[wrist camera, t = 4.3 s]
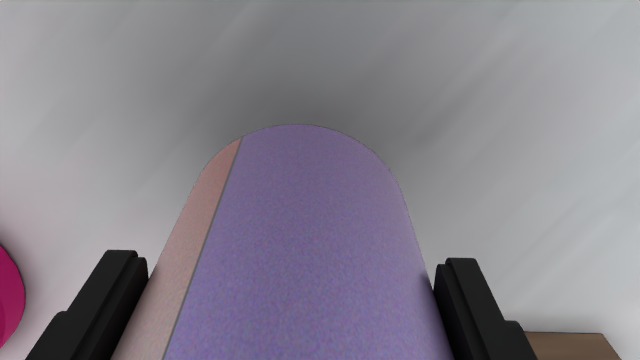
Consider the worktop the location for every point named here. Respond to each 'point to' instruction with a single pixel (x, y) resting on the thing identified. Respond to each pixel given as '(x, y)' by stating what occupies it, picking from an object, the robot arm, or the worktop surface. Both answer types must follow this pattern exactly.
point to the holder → (571, 346)
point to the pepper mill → (9, 297)
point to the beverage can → (290, 261)
